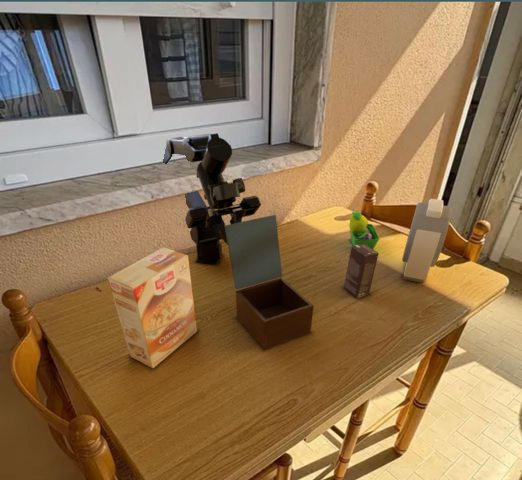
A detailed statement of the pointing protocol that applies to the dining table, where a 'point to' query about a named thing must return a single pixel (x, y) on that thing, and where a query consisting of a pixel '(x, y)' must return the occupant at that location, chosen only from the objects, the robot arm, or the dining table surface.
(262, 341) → the chest
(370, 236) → the fruit basket
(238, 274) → the lid
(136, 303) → the coffeecake box
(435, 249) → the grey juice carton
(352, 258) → the box
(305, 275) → the dining table surface
